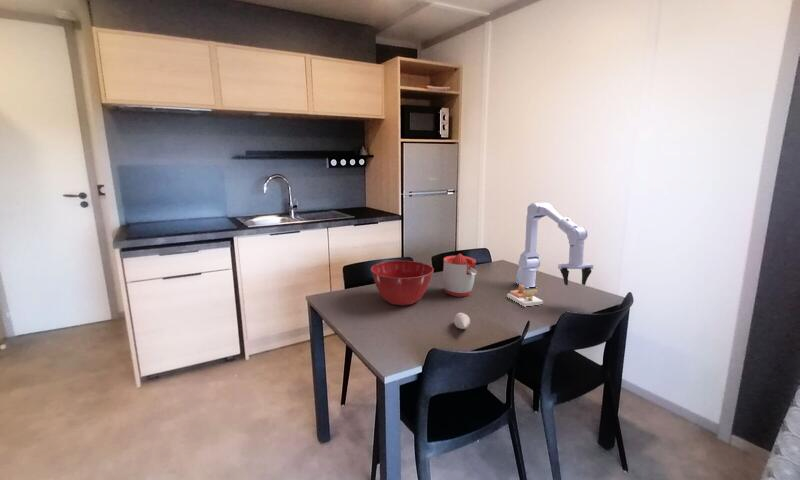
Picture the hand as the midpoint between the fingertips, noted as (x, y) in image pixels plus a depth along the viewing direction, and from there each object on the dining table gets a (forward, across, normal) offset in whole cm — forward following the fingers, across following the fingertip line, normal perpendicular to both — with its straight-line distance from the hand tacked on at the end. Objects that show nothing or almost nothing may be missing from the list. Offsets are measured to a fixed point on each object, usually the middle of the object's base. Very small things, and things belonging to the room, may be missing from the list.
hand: (574, 284), depth 173 cm
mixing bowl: (+8, -78, -1) cm, 78 cm away
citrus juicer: (+8, -50, +11) cm, 52 cm away
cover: (+7, -22, +7) cm, 24 cm away
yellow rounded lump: (+7, -20, +2) cm, 21 cm away
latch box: (+9, -21, +4) cm, 23 cm away
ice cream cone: (+11, -53, -29) cm, 61 cm away
